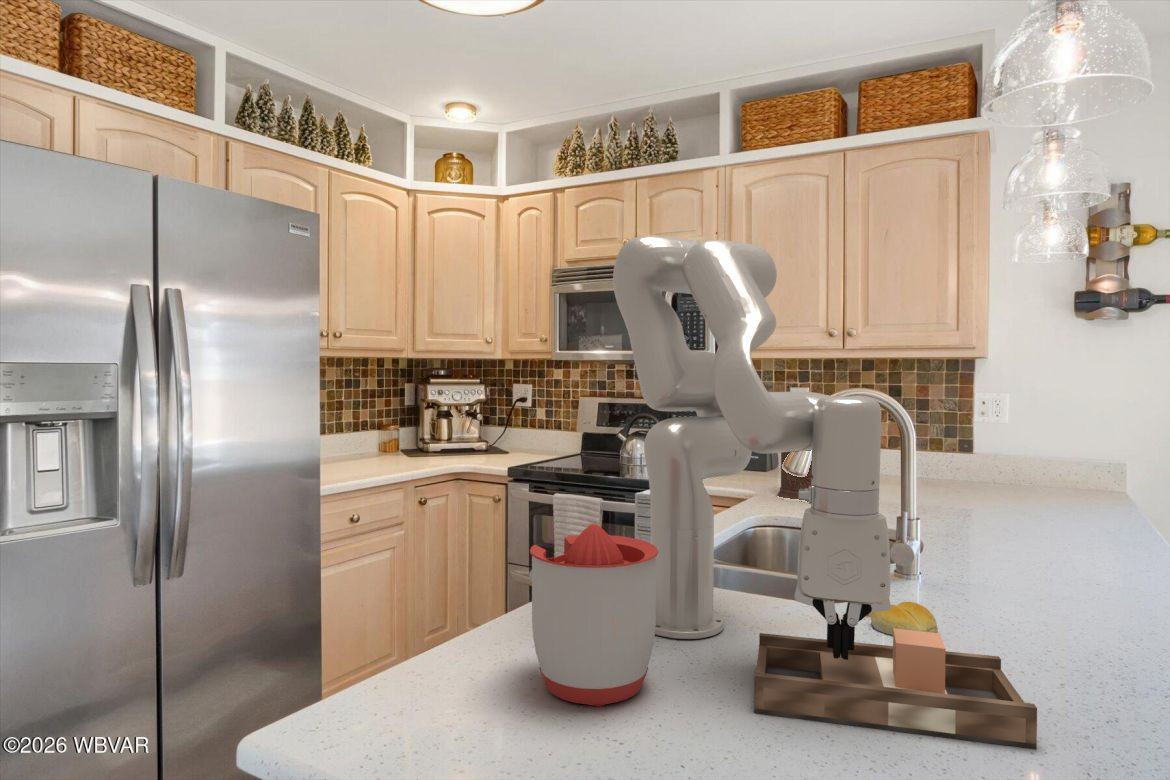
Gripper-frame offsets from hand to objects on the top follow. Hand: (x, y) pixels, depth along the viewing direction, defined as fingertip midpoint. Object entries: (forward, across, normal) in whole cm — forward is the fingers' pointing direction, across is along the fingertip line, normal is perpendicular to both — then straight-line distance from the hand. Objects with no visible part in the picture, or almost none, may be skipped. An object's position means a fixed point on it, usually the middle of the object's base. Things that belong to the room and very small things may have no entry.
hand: (840, 654), depth 85 cm
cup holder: (+7, +2, +144) cm, 144 cm away
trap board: (+5, +4, 0) cm, 7 cm away
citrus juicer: (+6, -29, -6) cm, 30 cm away
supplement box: (+6, -27, +40) cm, 49 cm away
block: (+2, +8, -1) cm, 9 cm away
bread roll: (+6, +11, +27) cm, 29 cm away
